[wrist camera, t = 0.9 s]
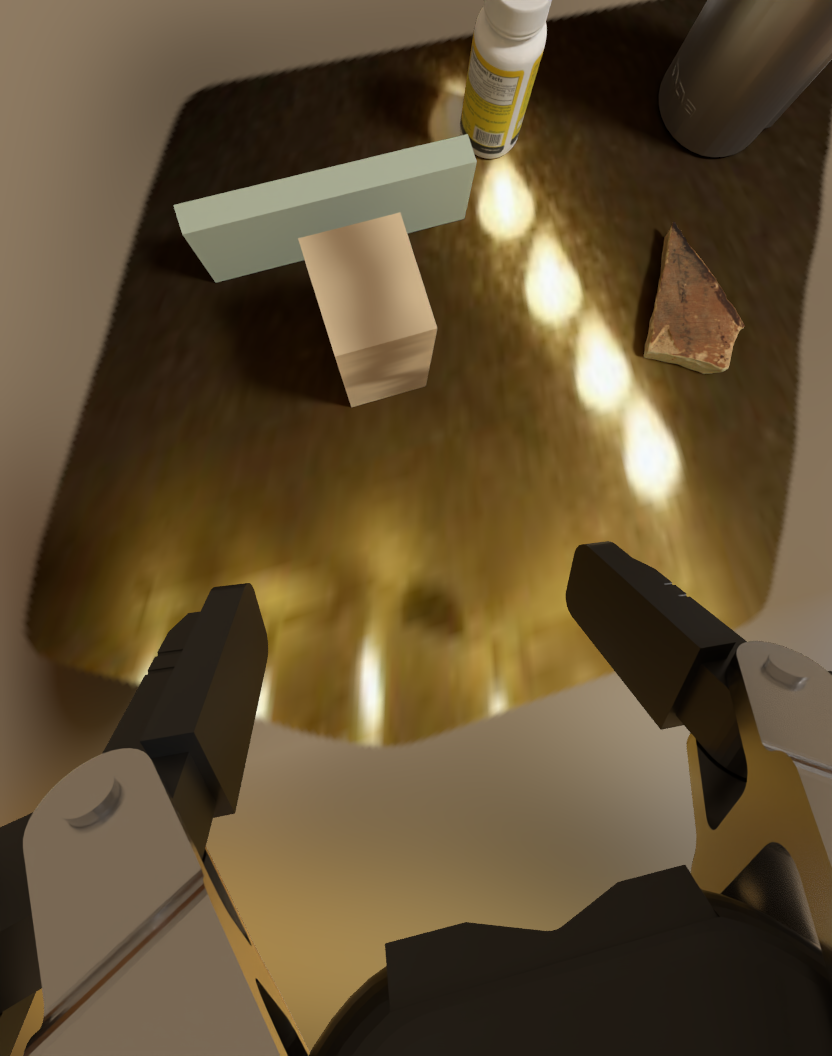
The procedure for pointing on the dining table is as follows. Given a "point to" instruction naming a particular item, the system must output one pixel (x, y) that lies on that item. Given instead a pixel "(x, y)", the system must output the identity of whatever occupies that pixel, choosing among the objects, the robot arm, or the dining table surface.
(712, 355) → the shard
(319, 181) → the sage fence board
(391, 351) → the birch block
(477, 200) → the dining table surface
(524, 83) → the supplement bottle
